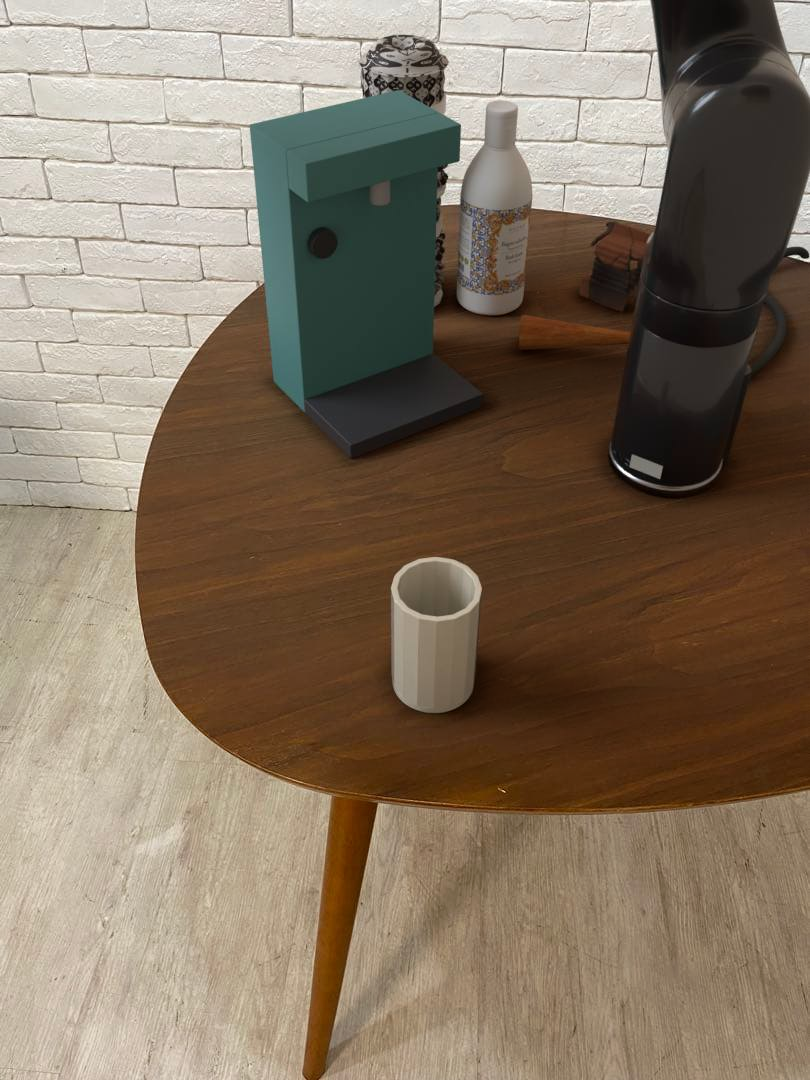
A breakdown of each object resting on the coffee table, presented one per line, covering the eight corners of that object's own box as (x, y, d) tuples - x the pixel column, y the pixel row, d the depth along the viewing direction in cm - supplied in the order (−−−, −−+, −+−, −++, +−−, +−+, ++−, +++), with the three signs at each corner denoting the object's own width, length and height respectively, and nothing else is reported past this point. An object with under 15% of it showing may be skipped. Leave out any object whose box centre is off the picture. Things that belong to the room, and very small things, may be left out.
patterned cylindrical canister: (343, 306, 108) (334, 52, 92) (379, 266, 115) (377, 22, 98) (425, 324, 106) (431, 66, 89) (458, 283, 112) (469, 34, 95)
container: (443, 638, 74) (447, 545, 68) (490, 690, 71) (499, 597, 65) (376, 671, 72) (374, 578, 66) (422, 726, 69) (424, 633, 63)
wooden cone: (526, 292, 103) (738, 302, 98) (524, 350, 106) (730, 362, 102) (518, 312, 98) (741, 323, 94) (516, 372, 101) (732, 385, 97)
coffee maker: (398, 338, 104) (398, 89, 88) (482, 407, 95) (500, 145, 79) (273, 381, 98) (248, 124, 82) (351, 459, 90) (340, 188, 73)
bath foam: (482, 324, 106) (494, 125, 92) (443, 295, 110) (449, 101, 97) (536, 305, 109) (555, 109, 95) (495, 278, 113) (509, 87, 99)
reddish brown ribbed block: (556, 287, 112) (584, 211, 110) (622, 310, 117) (650, 237, 115) (620, 313, 103) (653, 230, 100) (690, 336, 107) (723, 257, 105)
